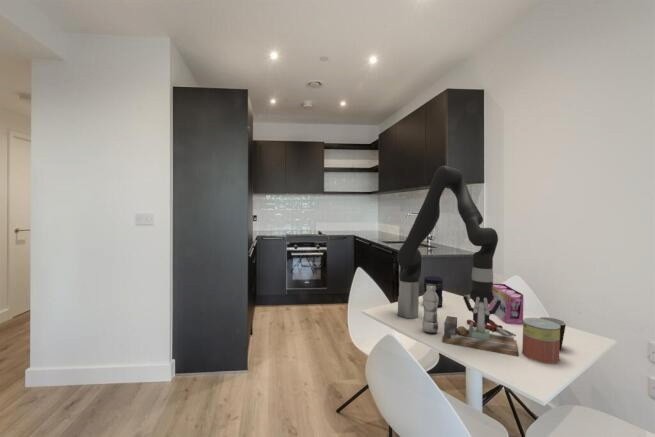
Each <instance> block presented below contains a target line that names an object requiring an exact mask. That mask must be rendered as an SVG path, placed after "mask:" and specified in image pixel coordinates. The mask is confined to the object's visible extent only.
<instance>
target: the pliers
mask: <svg viewBox="0 0 655 437" xmlns="http://www.w3.org/2000/svg"><path fill="white" fill-rule="evenodd" d="M470 322H473V327H475V328H477V323H475V321H473V319H467V320H466V324H467V325H469V326H470ZM485 329H488V330H489V332H490V331H491V332H492V333H495V332H496V333H498V334H499V335H504V336H510V337H517V334H514V333H513V332H511V331H509V330H507V329H505V328H504V327H503V326H502V325H500V324H499V325H498V324H497V323H496V322H495V321H493V320H492V319H490V318H489V323H487V324H485Z"/></svg>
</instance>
